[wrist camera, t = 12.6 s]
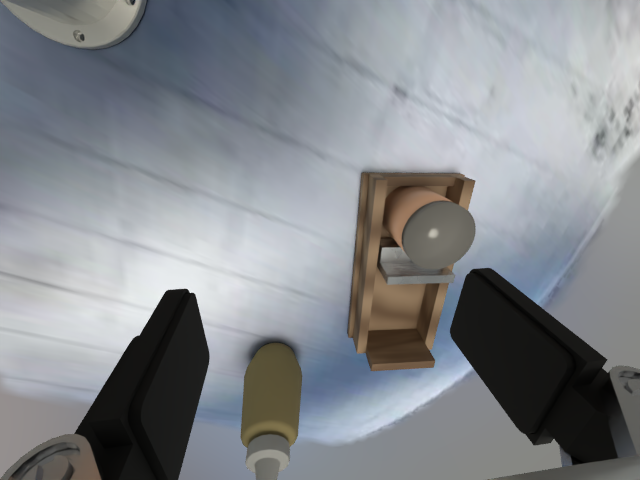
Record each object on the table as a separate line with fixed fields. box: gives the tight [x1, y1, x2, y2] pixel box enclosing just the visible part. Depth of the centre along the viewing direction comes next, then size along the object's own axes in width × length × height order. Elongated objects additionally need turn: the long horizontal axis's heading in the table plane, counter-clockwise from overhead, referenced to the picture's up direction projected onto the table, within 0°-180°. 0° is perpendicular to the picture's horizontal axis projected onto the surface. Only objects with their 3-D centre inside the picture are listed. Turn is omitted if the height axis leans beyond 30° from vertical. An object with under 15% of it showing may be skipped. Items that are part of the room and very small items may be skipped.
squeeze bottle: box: [241, 343, 302, 480], centre depth 34 cm, size 8×8×18 cm
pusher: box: [377, 239, 455, 285], centre depth 32 cm, size 3×8×6 cm, turn 88°
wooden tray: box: [348, 173, 475, 371], centre depth 34 cm, size 24×12×7 cm, turn 178°
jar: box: [382, 186, 475, 269], centre depth 30 cm, size 7×7×8 cm
